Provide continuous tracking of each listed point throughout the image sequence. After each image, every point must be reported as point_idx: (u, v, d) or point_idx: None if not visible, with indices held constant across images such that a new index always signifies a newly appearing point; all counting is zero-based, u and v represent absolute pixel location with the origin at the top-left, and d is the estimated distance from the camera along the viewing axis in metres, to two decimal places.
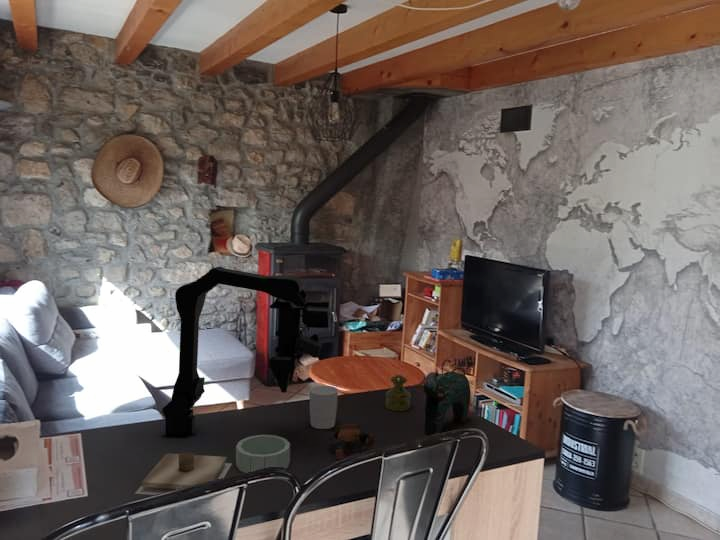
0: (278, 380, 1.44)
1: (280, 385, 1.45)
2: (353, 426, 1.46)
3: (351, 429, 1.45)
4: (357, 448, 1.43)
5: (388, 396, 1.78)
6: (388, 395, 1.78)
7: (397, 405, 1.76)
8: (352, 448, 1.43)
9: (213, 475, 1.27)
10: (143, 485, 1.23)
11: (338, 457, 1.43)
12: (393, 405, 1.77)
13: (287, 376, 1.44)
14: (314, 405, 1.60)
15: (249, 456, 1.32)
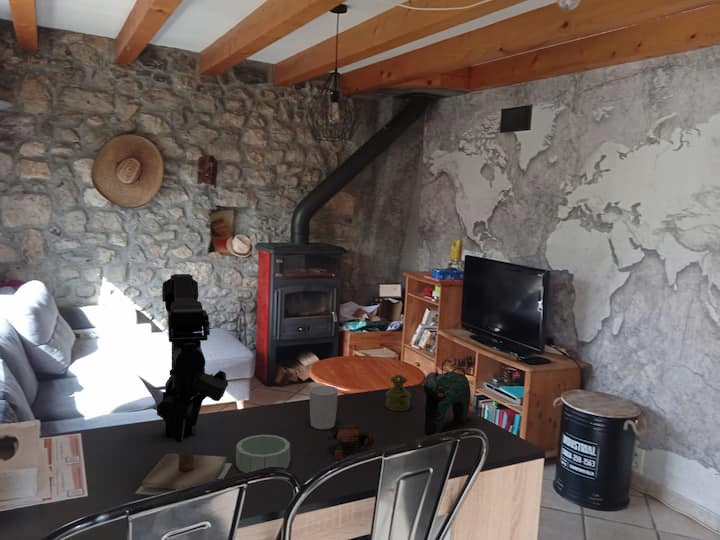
0: (171, 428, 1.22)
1: (174, 434, 1.23)
2: (352, 427, 1.46)
3: (350, 429, 1.45)
4: (356, 449, 1.43)
5: (388, 396, 1.78)
6: (388, 395, 1.78)
7: (397, 405, 1.76)
8: (351, 449, 1.42)
9: (213, 475, 1.27)
10: (143, 485, 1.23)
11: (337, 458, 1.42)
12: (393, 405, 1.77)
13: (181, 424, 1.22)
14: (314, 405, 1.60)
15: (249, 456, 1.32)
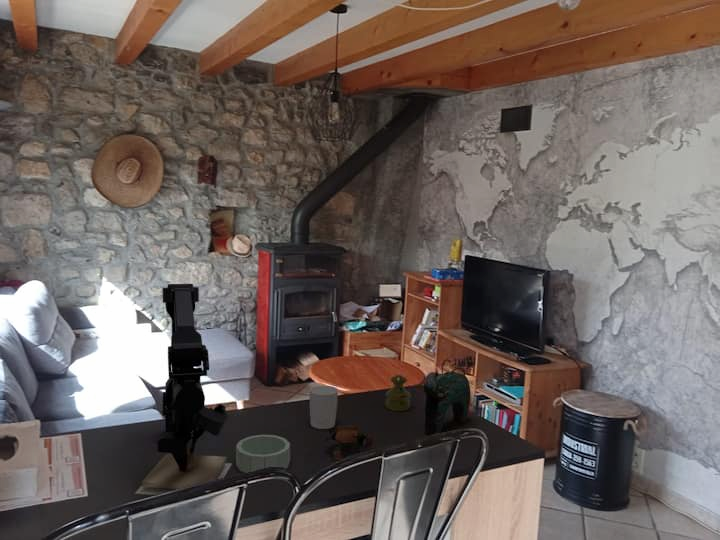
0: (175, 457, 1.26)
1: (178, 463, 1.26)
2: (351, 427, 1.45)
3: (348, 430, 1.44)
4: (355, 449, 1.42)
5: (388, 396, 1.78)
6: (388, 395, 1.78)
7: (397, 405, 1.76)
8: (350, 450, 1.42)
9: (213, 475, 1.27)
10: (143, 485, 1.23)
11: (336, 459, 1.42)
12: (393, 405, 1.77)
13: (185, 453, 1.25)
14: (314, 405, 1.60)
15: (249, 456, 1.32)
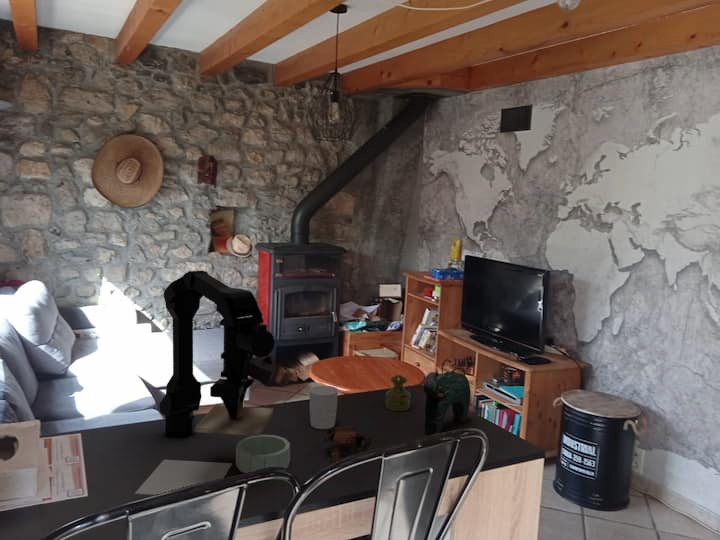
0: (226, 405, 1.30)
1: (229, 411, 1.30)
2: (349, 428, 1.44)
3: (346, 431, 1.44)
4: (353, 450, 1.42)
5: (388, 396, 1.78)
6: (388, 395, 1.78)
7: (397, 405, 1.76)
8: (348, 451, 1.41)
9: (262, 423, 1.30)
10: (196, 430, 1.27)
11: (334, 460, 1.41)
12: (393, 405, 1.77)
13: (236, 401, 1.29)
14: (314, 405, 1.60)
15: (249, 456, 1.32)
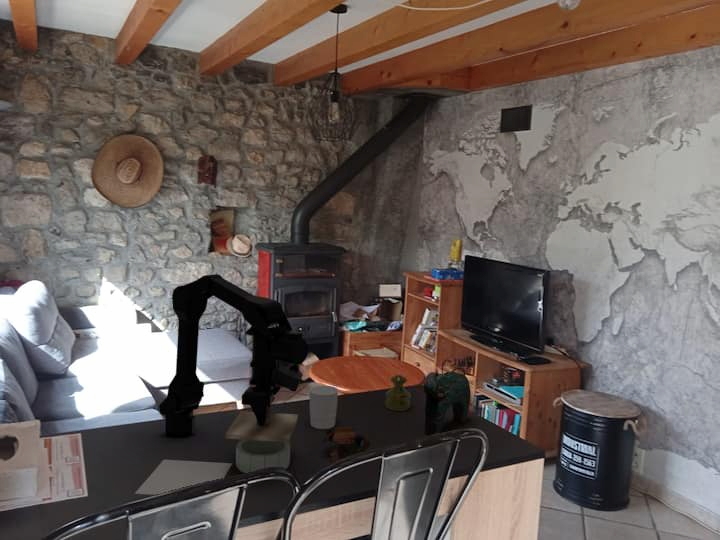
0: (255, 412, 1.33)
1: (257, 417, 1.34)
2: (348, 429, 1.44)
3: (346, 431, 1.44)
4: (352, 451, 1.42)
5: (388, 396, 1.78)
6: (388, 395, 1.78)
7: (397, 405, 1.76)
8: (347, 451, 1.41)
9: (290, 429, 1.34)
10: (227, 437, 1.30)
11: (333, 460, 1.41)
12: (393, 405, 1.77)
13: (265, 408, 1.33)
14: (314, 405, 1.60)
15: (249, 456, 1.32)
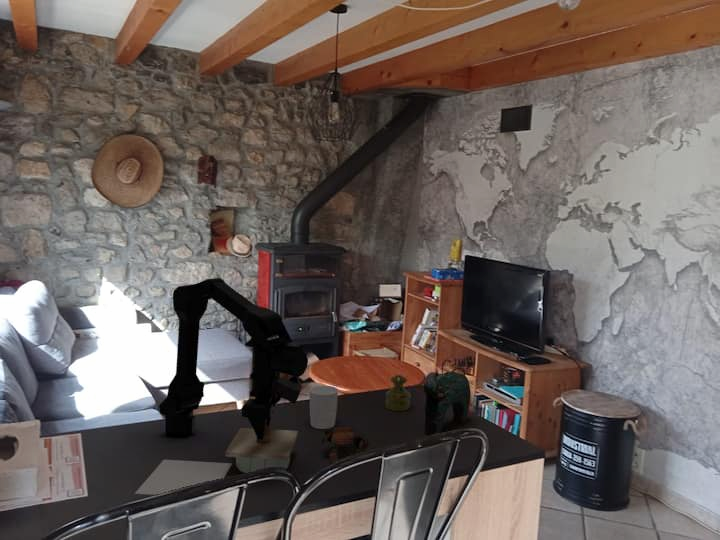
0: (254, 426, 1.32)
1: (256, 431, 1.33)
2: (347, 429, 1.44)
3: (344, 432, 1.43)
4: (351, 451, 1.41)
5: (388, 396, 1.78)
6: (388, 395, 1.78)
7: (397, 405, 1.76)
8: (346, 452, 1.41)
9: (290, 446, 1.35)
10: (227, 455, 1.30)
11: (332, 461, 1.40)
12: (393, 405, 1.77)
13: (263, 422, 1.32)
14: (314, 405, 1.60)
15: None
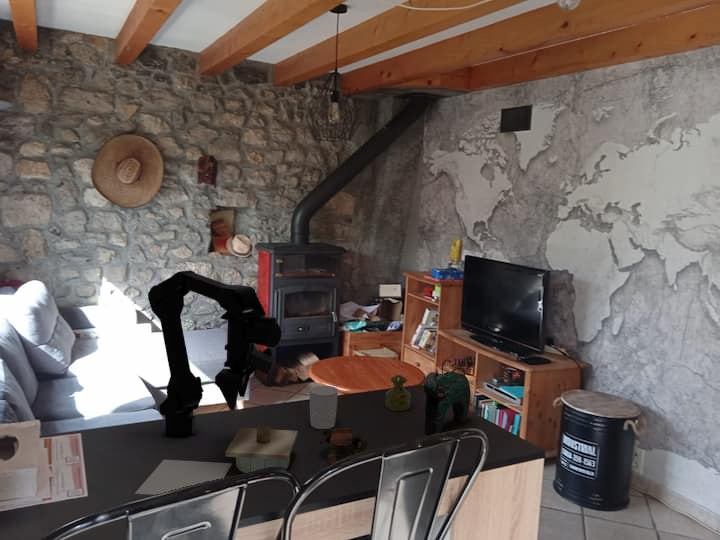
0: (226, 397, 1.36)
1: (228, 402, 1.37)
2: (345, 430, 1.43)
3: (343, 433, 1.43)
4: (350, 452, 1.41)
5: (388, 396, 1.78)
6: (388, 395, 1.78)
7: (397, 405, 1.76)
8: (345, 453, 1.40)
9: (290, 446, 1.35)
10: (227, 455, 1.30)
11: (330, 462, 1.40)
12: (393, 405, 1.77)
13: (235, 393, 1.36)
14: (314, 405, 1.60)
15: None
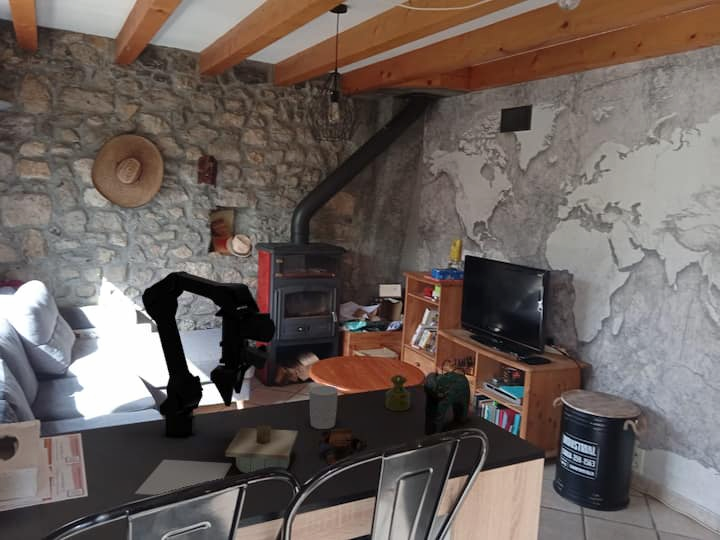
0: (221, 393, 1.37)
1: (224, 399, 1.38)
2: (344, 431, 1.43)
3: (342, 433, 1.42)
4: (349, 453, 1.40)
5: (388, 396, 1.78)
6: (388, 395, 1.78)
7: (397, 405, 1.76)
8: (344, 453, 1.40)
9: (290, 446, 1.35)
10: (227, 455, 1.30)
11: (329, 463, 1.39)
12: (393, 405, 1.77)
13: (230, 389, 1.37)
14: (314, 405, 1.60)
15: None
